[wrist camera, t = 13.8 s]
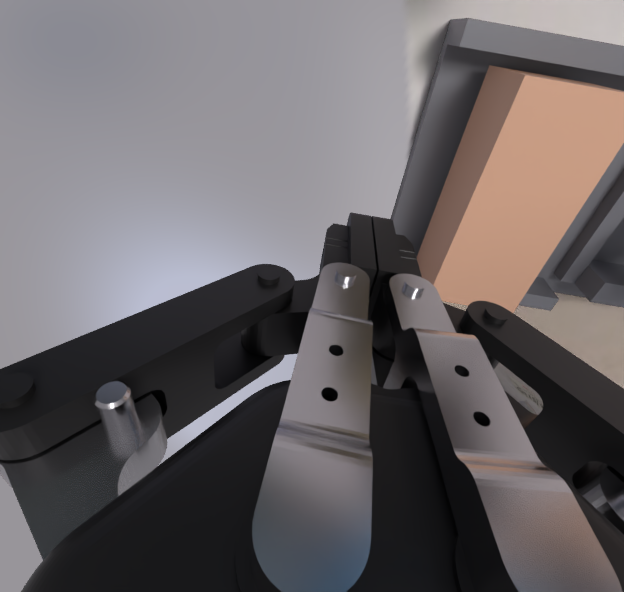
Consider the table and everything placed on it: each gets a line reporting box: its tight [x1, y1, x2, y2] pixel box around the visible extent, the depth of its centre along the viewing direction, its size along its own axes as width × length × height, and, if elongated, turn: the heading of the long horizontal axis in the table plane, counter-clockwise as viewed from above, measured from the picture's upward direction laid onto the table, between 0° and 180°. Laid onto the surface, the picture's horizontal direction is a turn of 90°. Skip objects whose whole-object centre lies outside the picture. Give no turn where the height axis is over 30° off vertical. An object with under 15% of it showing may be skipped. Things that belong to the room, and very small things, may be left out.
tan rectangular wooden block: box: [417, 65, 624, 313], centre depth 19 cm, size 5×11×4 cm, turn 172°
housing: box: [391, 18, 624, 311], centre depth 21 cm, size 22×14×4 cm, turn 82°
